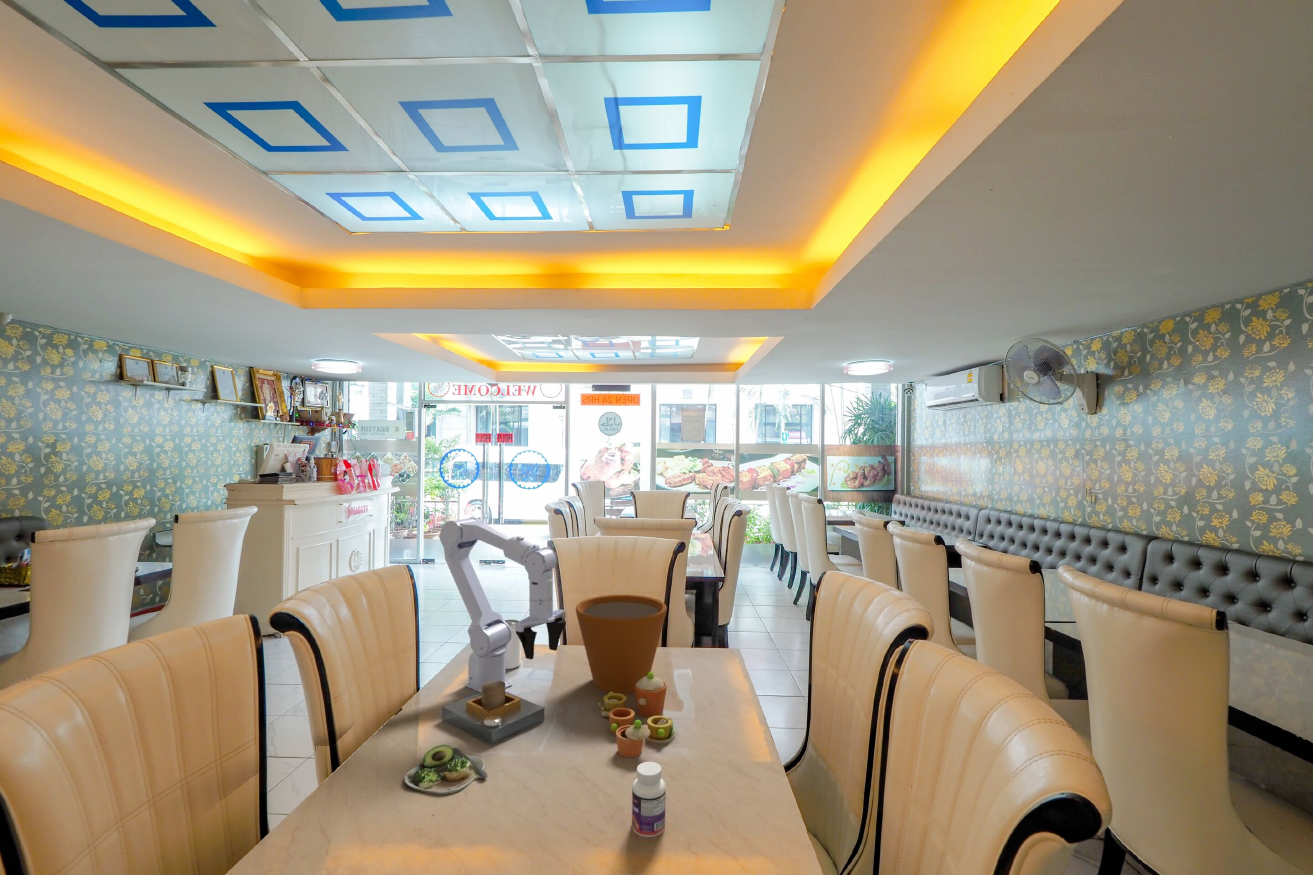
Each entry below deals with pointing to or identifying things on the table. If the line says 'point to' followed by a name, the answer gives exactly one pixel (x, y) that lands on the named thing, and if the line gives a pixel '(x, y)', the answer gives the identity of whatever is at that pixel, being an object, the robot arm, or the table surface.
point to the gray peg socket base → (493, 717)
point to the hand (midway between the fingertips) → (541, 653)
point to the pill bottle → (648, 800)
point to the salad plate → (444, 770)
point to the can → (513, 648)
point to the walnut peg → (493, 694)
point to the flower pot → (620, 638)
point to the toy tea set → (648, 705)
